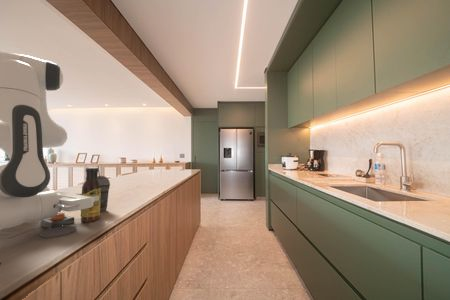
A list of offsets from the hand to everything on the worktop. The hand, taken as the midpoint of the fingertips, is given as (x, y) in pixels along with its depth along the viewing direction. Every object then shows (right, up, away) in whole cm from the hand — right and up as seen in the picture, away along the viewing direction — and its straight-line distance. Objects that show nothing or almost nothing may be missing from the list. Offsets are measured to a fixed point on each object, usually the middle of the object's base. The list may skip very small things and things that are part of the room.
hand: (90, 196), depth 79 cm
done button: (-9, -7, -5) cm, 12 cm away
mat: (-2, -9, -12) cm, 15 cm away
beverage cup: (-3, -9, +11) cm, 15 cm away
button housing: (-9, -9, -5) cm, 13 cm away
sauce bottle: (0, -9, 0) cm, 9 cm away
